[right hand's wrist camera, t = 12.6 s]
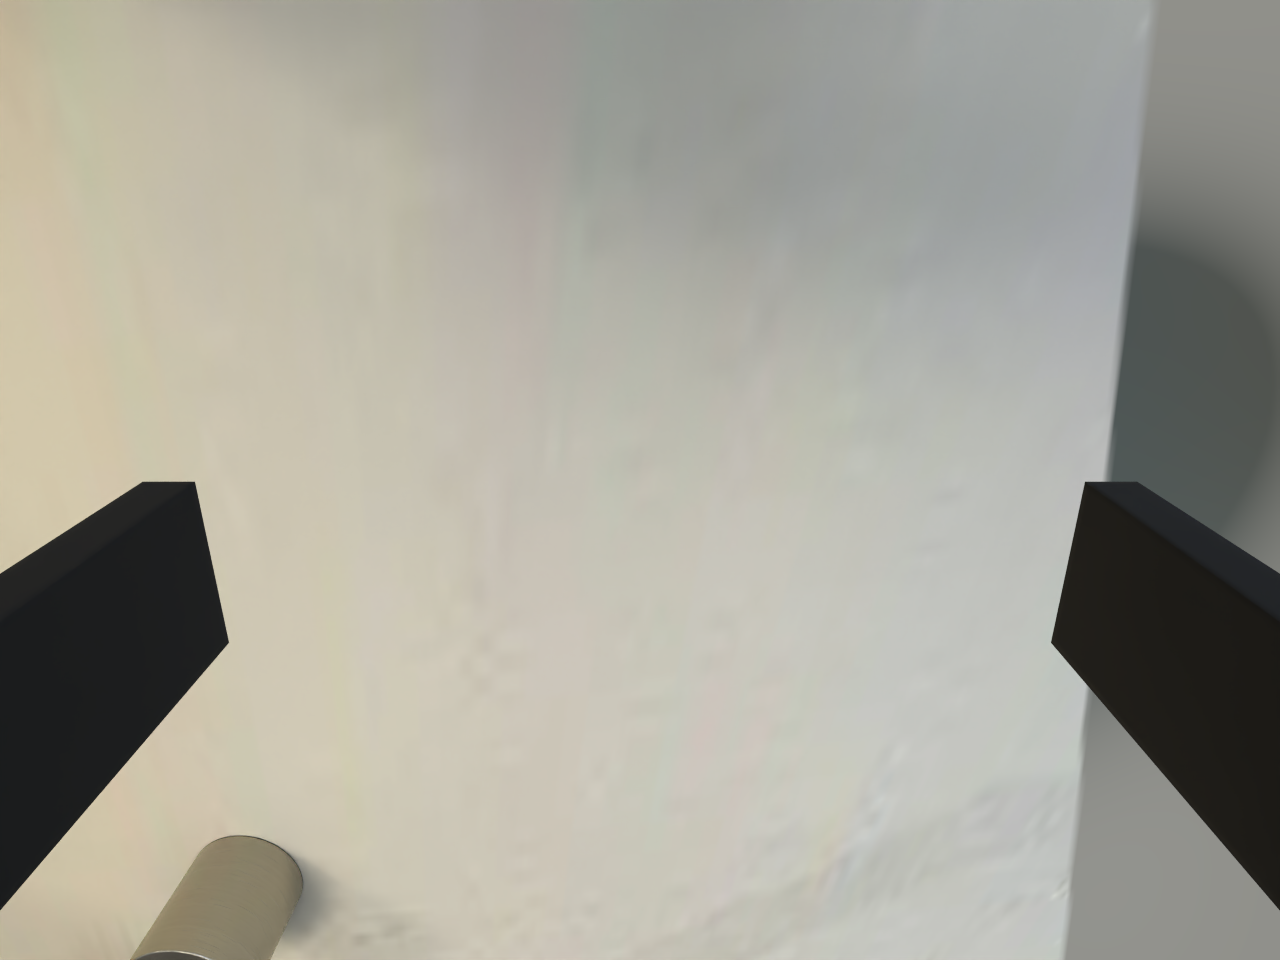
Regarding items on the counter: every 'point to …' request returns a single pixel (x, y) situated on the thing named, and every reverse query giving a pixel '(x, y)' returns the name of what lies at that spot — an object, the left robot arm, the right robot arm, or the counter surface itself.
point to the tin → (227, 904)
